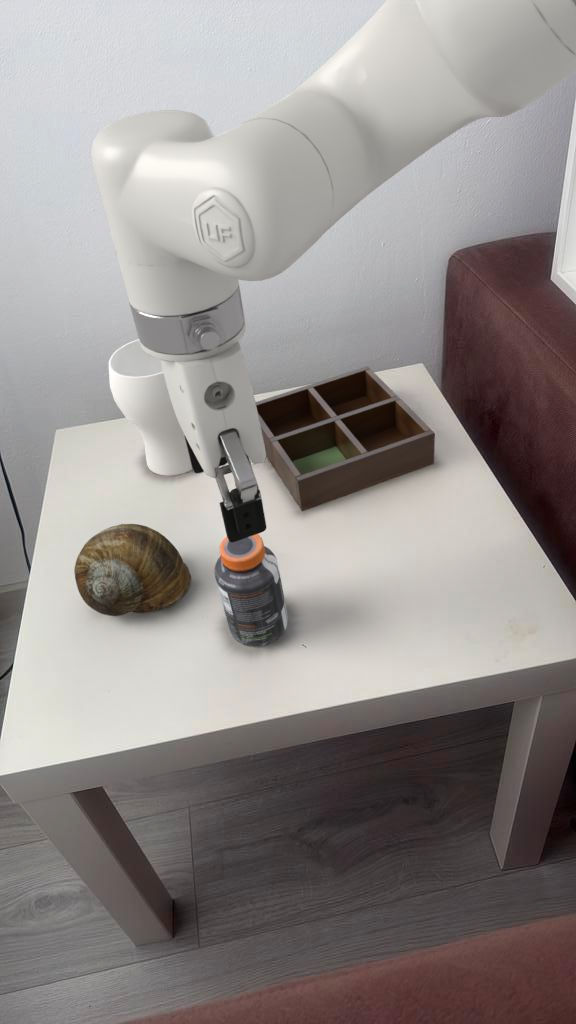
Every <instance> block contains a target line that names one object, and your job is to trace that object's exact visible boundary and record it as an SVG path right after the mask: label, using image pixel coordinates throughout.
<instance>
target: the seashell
mask: <svg viewBox="0 0 576 1024" xmlns="http://www.w3.org/2000/svg"><path fill="white" fill-rule="evenodd" d="M73 572H74V578H75V583H76V587H77V591H78V594H79V595H80V597H81V599H82V600H83V602H84V603H85V605H87V606H88V607H89V608H91V609H92V610H93V611H95V612H97V613H99V614H101V615H105V616H109V617H121V616H125V615H127V614H128V615H129V614H131V613H134V614H147V613H156V612H160V611H163V610H166V609H168V608H171V607H173V606H175V605H176V604H178V603H179V602H180V601H181V600H182V599H183V598H184V597H185V596H186V594H187V592H188V590H189V589H190V586H191V581H192V575H191V573H190V569H189V567H188V565H187V564H186V563H185V562H184V559H183V557H182V556H181V554H180V552H179V550H178V548H176V547H175V545H174V544H173V542H171V541H170V540H169V539H168V538H167V537H166V536H164V535H163V534H162V533H161V532H159V531H157V530H156V529H153V528H151V527H149V526H147V525H142V524H137V523H121V524H117V525H113V526H110V527H107V528H105V529H103V530H101V531H99V532H97V533H96V534H95V535H93V536H92V537H91V538H89V539H88V541H86V543H85V544H84V545H83V546H82V548H81V550H80V551H79V554H78V555H77V558H76V560H75V564H74V571H73Z"/></svg>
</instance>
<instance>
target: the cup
mask: <svg viewBox="0 0 576 1024" xmlns="http://www.w3.org/2000/svg"><path fill="white" fill-rule="evenodd" d="M108 377H109V378H108V379H109V380H108V382H109V388H110V391H111V394H112V397H113V400H114V402H115V404H116V406H117V407H118V408H119V410H120V411H121V413H122V414H123V415H124V417H125V419H126V420H127V421H129V422H130V423H131V424H132V425H133V426H134V427H135V428H136V429H137V430H138V432H139V434H140V436H141V438H142V441H143V443H144V452H145V460H146V466H147V467H148V469H149V470H150V471H151V472H152V473H154V474H157V475H159V476H169V477H170V476H179V475H183V474H185V473H188V472H190V471H193V468H192V465H191V461H190V457H189V453H188V449H187V445H186V441H185V436H184V433H183V431H182V429H181V426H180V424H179V422H178V419H177V417H176V414H175V411H174V408H173V405H172V402H171V399H170V396H169V392H168V389H167V385H166V381H165V377H164V373H163V369H162V365H161V361H160V360H159V359H156V358H153V357H152V356H150V355H148V354H147V353H145V352H144V351H143V349H142V347H141V344H140V340H139V338H137V339H135V340H132V341H130V342H129V341H128V342H127V343H126V344H124V345H123V344H122V346H120V347H119V348H117V349H116V350H114V352H113V353H112V354H111V356H110V358H109V360H108Z"/></svg>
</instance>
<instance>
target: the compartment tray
mask: <svg viewBox="0 0 576 1024" xmlns="http://www.w3.org/2000/svg"><path fill="white" fill-rule="evenodd" d="M255 402H256V407H257V412H258V416H259V421H260V426H261V431H262V436H263V440H264V445H265V450H266V459H267V460H268V462H269V464H270V465H271V467H272V468H273V469H274V471H275V472H276V474H277V476H278V477H279V479H280V480H281V482H282V483H283V485H284V486H285V488H286V489H287V491H288V492H289V494H290V495H291V497H292V498H293V500H294V502H295V503H296V505H297V506H298V508H299V509H300V511H301V512H305V511H307V510H311V509H313V508H316V507H318V506H321V505H324V504H326V503H330V502H332V501H335V500H337V499H340V498H343V497H346V496H349V495H351V494H354V493H357V492H360V491H362V490H365V489H368V488H371V487H374V486H376V485H379V484H382V483H385V482H388V481H390V480H393V479H396V478H398V477H401V476H404V475H407V474H409V473H412V472H416V471H418V470H420V469H421V470H422V469H424V468H427V467H429V466H432V465H435V444H436V443H435V441H436V433H435V431H433V430H432V428H431V427H429V425H428V424H426V423H425V422H424V420H423V419H421V418H420V416H418V414H416V413H415V411H413V410H412V408H411V407H409V406H408V405H407V404H406V402H404V400H402V399H401V398H400V396H399V395H397V393H395V392H394V391H393V390H392V389H391V388H390V387H389V386H388V384H386V383H385V382H384V381H383V380H382V378H380V377H379V376H378V375H377V374H376V373H375V371H373V370H372V368H371V367H369V365H366V366H364V367H360V368H357V369H354V370H351V371H348V372H345V373H341V374H339V375H335V376H333V377H329V378H326V379H323V380H320V381H316V382H314V383H311V384H308V385H305V386H301V387H298V388H295V389H292V390H289V391H285V392H282V393H280V394H276V395H274V396H273V395H272V396H270V397H267V398H265V399H264V398H263V399H261V400H258V401H255Z"/></svg>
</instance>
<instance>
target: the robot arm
mask: <svg viewBox="0 0 576 1024" xmlns="http://www.w3.org/2000/svg"><path fill="white" fill-rule="evenodd" d="M575 73H576V0H385V1H384V3H383V4H382V5H381V6H379V8H378V9H377V11H376V12H374V14H373V15H372V16H371V17H370V18H369V19H368V20H367V21H366V23H364V24H363V26H362V27H360V29H358V30H357V32H355V33H354V35H353V36H351V37H350V38H349V40H347V41H346V42H345V43H344V44H343V45H342V46H341V47H340V48H338V50H337V51H336V52H335V53H333V55H331V57H330V58H328V59H327V61H326V62H324V63H323V64H322V65H321V66H320V67H319V68H318V69H317V70H316V71H315V72H313V73H312V74H311V75H310V76H309V77H308V78H307V79H306V80H305V81H304V82H302V84H300V85H298V87H297V88H295V89H294V90H293V91H291V92H290V93H289V94H287V95H286V96H284V97H283V98H281V99H279V100H278V101H276V102H274V103H273V104H271V105H269V106H268V107H265V109H263V110H261V111H259V112H258V113H257V114H254V115H253V116H252V117H250V118H248V119H247V120H245V121H243V123H241V124H240V125H237V126H235V127H233V128H230V129H228V130H226V131H223V132H222V133H219V134H217V135H215V133H214V131H213V129H212V127H211V126H210V124H209V123H208V122H207V120H205V119H204V118H203V117H201V116H200V115H198V114H197V113H194V112H189V111H183V110H175V109H166V110H162V109H161V110H152V111H147V112H140V113H136V114H135V113H134V114H132V115H127V116H125V117H122V118H120V119H116V120H115V121H112V122H111V123H109V124H107V125H106V126H104V127H102V128H101V129H100V130H99V131H98V132H97V134H96V135H95V137H94V139H93V142H92V144H91V153H90V155H91V156H90V157H91V164H92V168H93V171H94V176H95V179H96V183H97V186H98V187H97V188H98V190H99V195H100V198H101V201H102V205H103V209H104V213H105V216H106V221H107V224H108V227H109V231H110V235H111V240H112V242H113V247H114V250H115V254H116V258H117V261H118V265H119V268H120V272H121V273H120V274H121V276H122V280H123V283H124V288H125V291H126V295H127V299H128V304H129V307H130V312H131V315H132V318H133V322H134V326H135V329H136V333H137V337H138V339H139V340H140V344H141V347H142V349H143V351H144V352H145V353H147V354H148V355H150V356H152V357H153V358H156V359H159V360H160V361H161V365H162V369H163V373H164V377H165V381H166V385H167V389H168V392H169V396H170V399H171V402H172V405H173V408H174V411H175V414H176V417H177V419H178V422H179V424H180V426H181V429H182V431H183V433H184V436H185V441H186V445H187V449H188V453H189V457H190V461H191V465H192V468H193V469H192V471H193V472H194V473H195V474H201V473H204V474H205V475H207V476H208V477H210V478H212V479H215V482H216V484H217V487H218V490H219V494H220V497H221V500H222V501H220V502H219V507H220V508H219V509H220V512H221V516H222V520H223V525H224V530H225V534H226V537H227V538H228V540H229V541H230V542H236V541H239V540H242V539H244V538H247V537H250V536H253V535H256V534H258V535H260V534H262V533H264V532H265V531H266V530H267V521H266V517H265V510H264V504H263V498H262V493H261V490H260V487H259V484H258V481H257V478H256V475H255V472H254V470H253V467H252V464H253V465H254V466H256V465H259V464H262V463H264V462H265V460H266V459H267V457H266V450H265V445H264V440H263V436H262V431H261V426H260V421H259V416H258V412H257V407H256V402H257V401H256V399H255V394H254V390H253V386H252V381H251V378H250V373H249V370H248V366H247V363H246V359H245V356H244V353H243V350H242V348H241V344H240V340H241V339H242V338H243V337H244V335H245V333H246V331H247V330H246V329H247V325H246V319H245V313H244V307H243V299H242V294H241V287H240V281H244V282H245V281H246V282H261V281H264V280H269V279H272V278H274V277H276V276H279V275H280V274H282V273H284V272H285V271H286V270H288V269H290V267H291V266H293V264H295V263H296V262H297V261H298V260H299V259H301V257H302V256H303V255H305V253H306V252H307V251H309V249H311V248H312V247H313V246H314V245H315V244H316V243H317V242H318V241H319V240H320V239H321V238H322V237H323V236H324V235H325V234H326V233H327V231H329V230H330V229H331V228H332V227H333V226H334V225H336V223H338V222H339V220H341V219H342V218H343V217H344V216H345V215H346V214H347V213H349V212H350V211H351V210H352V209H353V208H355V206H357V205H358V204H359V203H360V202H362V201H363V200H364V199H365V198H367V197H368V196H369V195H370V194H371V193H373V192H374V191H376V189H378V188H379V187H381V185H383V184H385V183H386V182H387V181H388V180H390V179H391V178H392V177H394V176H395V175H397V174H398V173H399V172H400V171H402V170H403V169H405V168H406V167H407V166H409V165H410V164H412V162H414V161H415V160H418V159H419V157H421V156H422V155H424V154H425V153H427V152H428V151H429V150H431V149H432V148H433V147H435V146H436V145H438V144H439V143H441V142H442V141H444V140H445V139H447V138H448V137H450V136H451V135H453V134H455V133H456V132H457V131H459V130H461V129H462V128H465V127H467V126H468V125H469V124H472V123H473V122H476V121H478V120H481V119H484V118H485V119H486V118H503V117H508V116H510V115H512V114H514V113H516V112H518V111H520V110H523V109H524V108H526V107H528V106H530V105H531V104H533V103H534V102H536V101H537V100H539V99H540V98H542V97H543V96H545V95H547V94H548V92H550V91H552V90H553V89H555V88H556V87H557V86H559V85H560V84H561V83H563V82H565V80H567V79H569V78H570V77H572V76H573V75H574V74H575ZM251 462H252V463H251ZM229 474H232V476H233V479H234V486H235V488H233V489H231V490H230V489H229V486H228V483H227V480H226V478H225V475H229Z"/></svg>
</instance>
